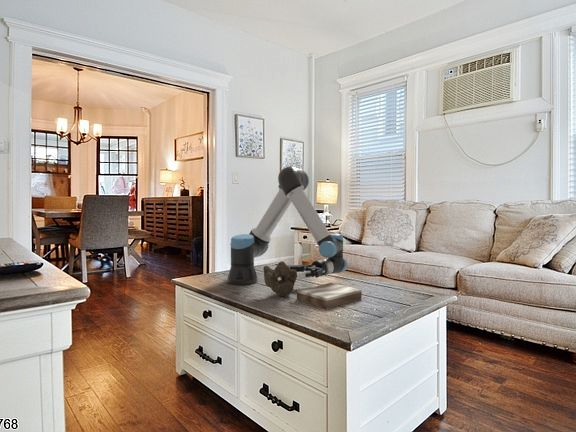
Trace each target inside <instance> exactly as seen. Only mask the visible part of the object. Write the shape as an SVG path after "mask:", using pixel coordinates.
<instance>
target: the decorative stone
mask: <svg viewBox="0 0 576 432" xmlns="http://www.w3.org/2000/svg"><path fill="white" fill-rule="evenodd" d="M289 266H290V265H287V264H286V263H285V261H283V260H282V261H279V262H278V263H277V265H276V266H275V268H274V269H272V268H271V267H270V266H268V265H264V266H263V269H262V270H263V278H264V283H265V285H266V287H269V288H270V289H271V292H273V293H276V294H277V295H279V296H281V297H285V298H286V297H288V296H290V294H291V293H292V292H293V290H294V287H295V283H296V282H297V279H298V272H297V271H296V270H294V269H292V270H291V269H290V268H289ZM279 278H280V279H279Z"/></svg>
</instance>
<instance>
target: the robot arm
mask: <svg viewBox="0 0 576 432" xmlns="http://www.w3.org/2000/svg"><path fill="white" fill-rule="evenodd" d="M277 180H278V181H277V182H278V191H277V193H276V195H275V197H274V198H273V200H272V201H271V203H270V205H269V206H268V208H267V210H266V211H265V213H264V214H263V216H262V217H261V219H260V220H259V222H258V224H257V226H256V227H254V228H251V230H250V232H249V233H248V234H247V233H246V234H244V233H243V234H236V235H234V236H232V237H231V239H230V268H229V272H228V273H227V274H228V275H227V281H226V283H228V284H231V285H237V286H242V285H243V286H244V285H252V284H256V283H258V275H257V271H256V269H255V258H258V257H261V256H263V255H264V254H266V253H267V251H268V250H269V249H268V248H269V246H270V245H269V243H270V242H271V240H272V239H271V235H272V234H273V231H274V230H275V229H276V227H277V226H278V224H279V222H280V221H281V219H282V218H283V217H284V214H285V213H286V211H287V210H288V208H289V207H290V205H291V203H292V205H293V206H294V207H295V209H296V211H297V213H298V214H299V216H300V218H301V219H302V220H303V223H304V224H305V226H306V227H307V229H308V231H309V233H310V234H311V236H312V237H313V240H314V241H315V242H316V244H317V246H318V252H319V254H320V256H322V257H324V259H317V260H314V261H313V262H312V263H311V264H294V265H288V266H289V268H290V269H291V270H292V269H294V270H296V271H297V273H298V280H302V279H308V278H309V279H310V278H314V277H315V278H317V279H318V278H319V277H324V276H325V277H328V275H332V274H333V275H334V274H341V273H342V272H345V271H346V270H347V269H348V261H347V258H345V257H344V236H343V234H341V233H330V231H329V229H328V228H327V227H326V225H325V223H324V221H323V220H322V218H321V217H320V215H319V213H318V211H317V210H316V209H315V207H314V205H313V203H312V202H311V200H310V198H309V196H308V195H307V193H306V192H305V190H306V189H307V188H308V186H309V183H310V177H309V175H308V173H307V172H306V171H305V170H303V169H301V168H300V167H295V166H286V167H284V168H282V169H281V170H280V171H279V172H278V177H277Z"/></svg>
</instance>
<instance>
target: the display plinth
mask: <svg viewBox="0 0 576 432" xmlns="http://www.w3.org/2000/svg"><path fill="white" fill-rule="evenodd" d="M296 300H297V301H301V302H303V303H307V304H311V305H314V306H317V307H320V308H323V309H331V308H334V307H337V306H341V305H345V304H349V303H352V302H356V301H359V300H362V289H359V288H357V287H351V286H347V285H342V284H338V283H334V282H328V283H324V284H319V285H313V286H309V287H305V288H301V289H300V288H299V289H296Z"/></svg>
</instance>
